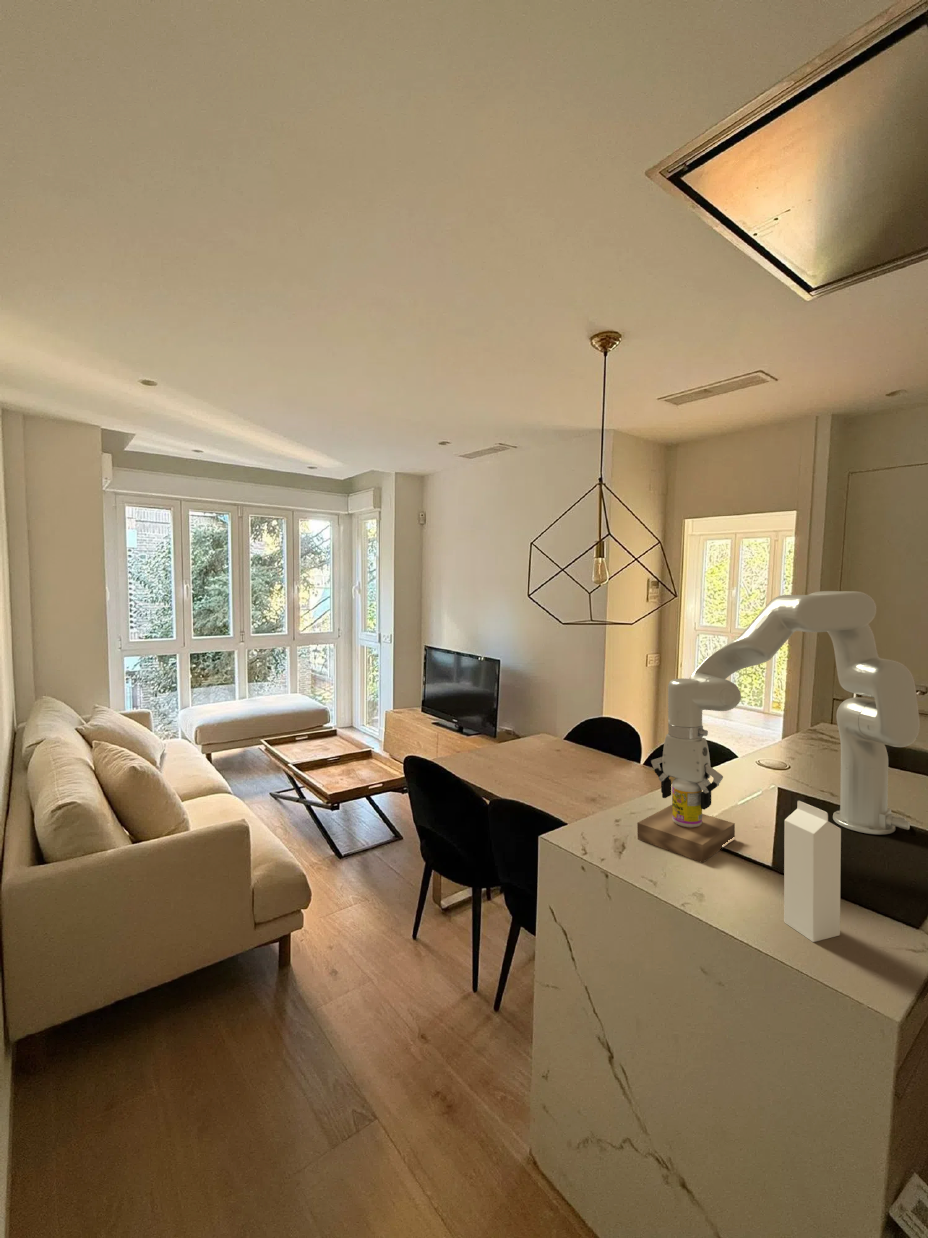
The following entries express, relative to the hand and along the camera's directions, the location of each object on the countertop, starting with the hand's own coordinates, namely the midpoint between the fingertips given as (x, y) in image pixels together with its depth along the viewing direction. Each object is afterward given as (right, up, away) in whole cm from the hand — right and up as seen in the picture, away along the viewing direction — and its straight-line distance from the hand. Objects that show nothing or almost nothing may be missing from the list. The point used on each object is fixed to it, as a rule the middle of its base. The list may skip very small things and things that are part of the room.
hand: (685, 802), depth 132 cm
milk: (+8, -11, -35) cm, 37 cm away
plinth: (0, -9, +1) cm, 9 cm away
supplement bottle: (+1, -5, 0) cm, 5 cm away
